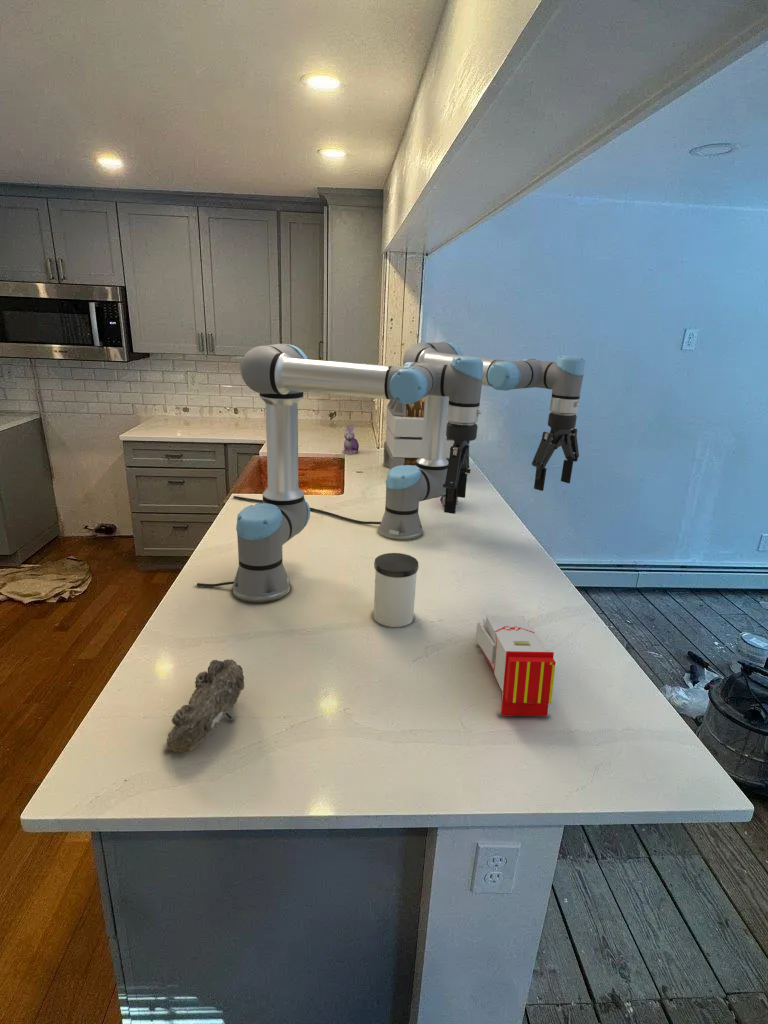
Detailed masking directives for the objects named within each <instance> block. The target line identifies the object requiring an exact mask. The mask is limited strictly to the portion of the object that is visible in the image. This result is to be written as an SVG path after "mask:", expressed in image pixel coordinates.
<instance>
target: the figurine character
mask: <svg viewBox="0 0 768 1024" xmlns="http://www.w3.org/2000/svg"><path fill="white" fill-rule="evenodd" d="M445 495H446V494H445ZM445 495H443V496H441V497H440V498H439V501H440V503H441V505H442V506H443V508H444V507H445ZM458 501H459V497H457V501H456V506H458Z"/></svg>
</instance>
